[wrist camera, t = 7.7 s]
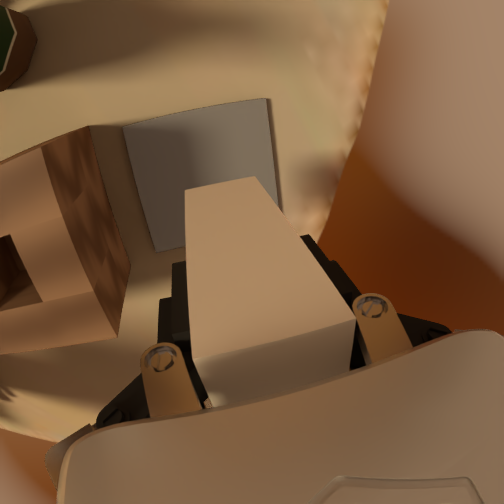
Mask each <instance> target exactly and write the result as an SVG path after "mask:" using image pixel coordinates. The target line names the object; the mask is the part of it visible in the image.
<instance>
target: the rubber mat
mask: <svg viewBox="0 0 504 504" xmlns="http://www.w3.org/2000/svg"><path fill="white" fill-rule="evenodd" d="M122 128H123V133H124V137H125V141H126V146H127V150H128V154H129V158H130V162H131V166H132V170H133V174H134V178H135V182H136V185H137V189H138V193H139V197H140V200H141V204H142V207H143V211H144V214H145V218H146V221H147V224H148V228H149V231H150V234H151V238H152V241H153V244H154V247H155V250H156V253H158V252H163V251H167V250H171V249H176V248H180V247H184V246H186V240H185V190H188V189H192V188H197V187H202V186H206V185H211V184H216V183H221V182H226V181H231V180H236V179H242V178H247V177H252V176H255V177H256V178H257V180H258V181H259V182H260V184H261V185H262V186H263V188H264V189H265V190H266V192H267V193H268V194H269V196H270V197H271V198H272V200H273V201H274V202H275V204H276V205H277V206H278V198H277V189H276V179H275V170H274V161H273V153H272V144H271V136H270V128H269V120H268V112H267V104H266V98H261V99H253V100H246V101H239V102H232V103H226V104H220V105H214V106H209V107H203V108H198V109H193V110H188V111H184V112H179V113H174V114H170V115H166V116H161V117H157V118H153V119H149V120H145V121H141V122H138V123H134V124H130V125H127V126H123V127H122Z"/></svg>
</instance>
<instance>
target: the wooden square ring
mask: <svg viewBox="0 0 504 504" xmlns="http://www.w3.org/2000/svg"><path fill="white" fill-rule="evenodd" d="M130 267H131V265H130V262H129V260H128V257H127V254H126V251H125V249H124V246H123V243H122V240H121V237H120V234H119V232H118V229H117V226H116V223H115V220H114V216H113V213H112V210H111V207H110V204H109V201H108V197H107V194H106V191H105V187H104V184H103V180H102V177H101V173H100V170H99V166H98V162H97V159H96V155H95V151H94V147H93V143H92V139H91V135H90V130H89V126H86V127H83V128H80V129H77V130H74V131H71V132H69V133H66V134H63V135H61V136H58V137H55V138H53V139H50V140H48V141H45V142H43V143H41V144H38V145H36V146H33V147H31V148H29V149H26V150H24V151H22V152H20V153H18V154H15V155H13V156H11V157H9V158H7V159H5V160H3V161H1V162H0V355H2V354H11V353H19V352H27V351H35V350H42V349H49V348H56V347H63V346H69V345H76V344H82V343H88V342H94V341H100V340H106V339H112V338H117V337H118V331H119V325H120V319H121V313H122V308H123V302H124V297H125V292H126V286H127V282H128V277H129V272H130Z"/></svg>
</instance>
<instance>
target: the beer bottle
mask: <svg viewBox="0 0 504 504" xmlns="http://www.w3.org/2000/svg"><path fill="white" fill-rule="evenodd" d="M36 42H37V38H36V35H35V33H34V31H33V29H32V26H31V24H30V21H29V19H28V17H27V16H25V15H23V14H21V13H19V12H16V11H14V10H11V9H8V8H5V7H3V6H0V92H1V91H4V90H5V89H7V88H8V87H9V86H10V85H11V84H12V83H13V82H14V81H15V80H16V79H18V78H19V77H20V76H21V75H22V74H23V73H25V72H26V71H27V70H28V66H29V63H30V60H31V57H32V54H33V51H34V48H35V45H36Z"/></svg>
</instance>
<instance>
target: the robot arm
mask: <svg viewBox="0 0 504 504" xmlns="http://www.w3.org/2000/svg"><path fill="white" fill-rule="evenodd" d="M300 238H301V239H302V240H303V242H304V243H305V245H306V246H307V247H308V249H309V250H310V252H311V253H312V254H313V256H314V257H315V259H316V260H317V262H318V263H319V264H320V266H321V267H322V269H323V270H324V272H325V273H326V274H327V276H328V277H329V279H330V280H331V282H332V283H333V284H334V286H335V287H336V289H337V290H338V292H339V293H340V295H341V296H342V298H343V299H344V301H345V302H346V303H347V305H348V306H349V308H350V309H351V311H352V312H353V314H354V315H355V317H356V324H355V332H354V339H353V346H352V353H351V360H350V366H349V372H346V373H343V374H340V375H337V376H334V377H331V378H328V379H325V380H321V381H318V382H315V383H311V384H308V385H305V386H301V387H298V388H294V389H290V390H287V391H283V392H279V393H275V394H271V395H267V396H263V397H259V398H255V399H251V400H246V401H242V402H237V403H233V404H228V405H223V406H218V407H213V408H208V409H207V408H206V405H205V403H204V401H205V400H206V399H207V398H208V397H209V396H208V394H207V392H206V390H205V387H204V385H203V383H202V381H201V378H200V376H199V374H198V371H197V369H196V367H195V364H194V362H193V359H192V349H191V336H190V323H189V307H188V290H187V269H186V261H183V262H178V263H173V264H172V297H168V298H163V299H160V301H159V317H158V341H157V344H155V345H153V346H151V347H150V348H148V349H147V350H146V351H145V352H144V353H143V355H142V357H141V359H140V367H141V374H140V375H139V376H138V377H137V378H135V379H134V380H133V381H132V382H131V383H130V384H129V385H128V386H127V387H126V388H125V389H124V390H123V391H122V392H121V393H119V394H118V395H117V396H116V397H115V398H114V399H113V400H112V401H111V402H110V403H109V404H108V405H107V406H105V407H104V408H103V409H102V411H101V412H100V413H99V415H98V417H97V419H96V423H95V424H94V425H92V426H91V425H90V424H88V425H86V426H84V427H83V428H81V429H80V430H78V431H77V432H75V433H73V434H72V435H70V436H69V437H67V438H65V439H64V440H62V441H61V442H59V443H57V444H56V445H54V446H52V447H51V448H50V449H49V450H48V452H47V454H46V456H45V464H46V468H47V470H48V472H49V475H50V477H51V479H52V482H53V484H54V486H55V488H56V490H57V504H504V337H503V336H502V335H500V334H499V333H496V332H494V331H491V330H486V329H471V330H455V331H454V333H452V332H451V331H450V330H449V329H448V328H447V327H446V326H444V325H441V324H438V323H435V322H431V321H427V320H422V319H418V318H414V317H410V316H406V315H402V314H398V313H396V311H395V310H394V308H393V306H392V304H391V302H390V301H389V300H388V299H387V298H386V297H384V296H382V295H379V294H373V293H371V294H364V295H362V294H361V293H360V292H359V290H358V289H357V287H356V286H355V285H354V283H353V282H352V281H351V280H350V278H349V277H348V276H347V275H346V273H345V272H344V271H343V269H342V268H341V267H340V265H339V264H338V263H337V262H336V261H334V260H332V261H329V260H328V258H327V257H326V256H325V254H324V253H323V252H322V250H321V249H320V248H319V247H318V245H317V244H316V243H315V241H314V240H313V239H312V237H311V236H310V235H309V234H308V235H303V236H300Z"/></svg>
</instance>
